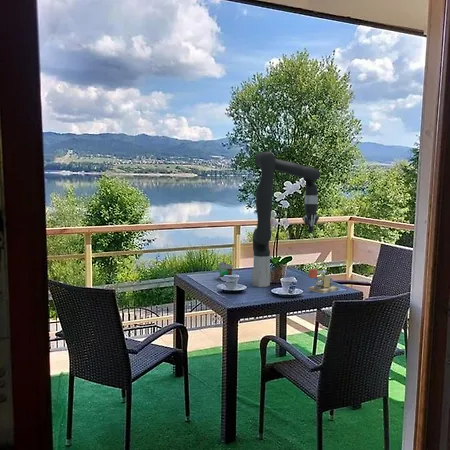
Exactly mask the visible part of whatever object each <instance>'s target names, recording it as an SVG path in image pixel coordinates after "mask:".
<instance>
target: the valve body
mask: <svg viewBox="0 0 450 450" xmlns="http://www.w3.org/2000/svg"><path fill="white" fill-rule="evenodd" d="M333 282H334V281H333V278H332V277H331V276H330V275H329V276H328V275H325V276H322V275H317V279H316V280H315V281H314V282H313V283H314V285H313V286H314V288H315V289H321V287H322V288H325V287H331V286H334V285H333Z"/></svg>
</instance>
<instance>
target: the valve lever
mask: <svg viewBox="0 0 450 450" xmlns="http://www.w3.org/2000/svg"><path fill="white" fill-rule="evenodd" d="M326 273H327V270H326V269H321V270H318V268H310V269H308V278H310V279H316V278H317V279H318V274H322V275H321V276H326ZM327 274H328V273H327Z"/></svg>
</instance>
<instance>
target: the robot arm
mask: <svg viewBox="0 0 450 450" xmlns="http://www.w3.org/2000/svg"><path fill="white" fill-rule="evenodd" d="M254 163H255V165H256V166H257V167H258V168H260V169H261V171H260V173H261V175H260V180H259V183H258V186H257V188H256V192H255V208H256V209H255V211H256V215H257V224H256V225H257V226H256V228H255V229H254V230H253V232H252V251H253V268H252V269H251V275H252V278H251V286H253V287H258V288H266V287H269V286H270V284H271V280H270V277H271V275H270V274H271V251H270V245H269V243H270V241H271V239H272V229H271V228H272V227H271V226H272V224H271V222H272V221H271V219H272V210H273V209H272V208H273V190H274V189H273V188H274V187H273V186H274V175H275V171H277V172H282V173H284V174H287V175H291V176H294V177H297V178H302V179H303V181H304V180H305V181H306V185H305V184H304V187H305V190H304V191H305V192H304V193H305V194H304V212H305V214H304V216H302V217H301V219H302V220H303V222H304V224H305V226H307V232H308V233H309V234H311V233H313V232H314V227H315V226H316V225H317V223H318V221H319V219H320V216H319V215H317V214H318V213H317V212H318V208H319V205H318V204H319V198H318V190H319V189H318V186H317V185H316V184H315V182H316V181H317V180H319V179H320V178H321V172H320V171H319V170H318V169H317V168H315V167H310V166H306V165H302V164H300V163H295V162H292V161H286V160H282V159H278V158H276V157H275V154H274V153H273V152H272V151H262V152H258V153H257V154H256V155H255V158H254Z"/></svg>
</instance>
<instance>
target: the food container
mask: <svg viewBox="0 0 450 450" xmlns="http://www.w3.org/2000/svg"><path fill="white" fill-rule="evenodd" d="M217 267H218V269H219V278H220V277H223V276H224V275H232V274H233V265H232V264H229V263H226V261H221V262H219V263H218V266H217Z"/></svg>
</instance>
